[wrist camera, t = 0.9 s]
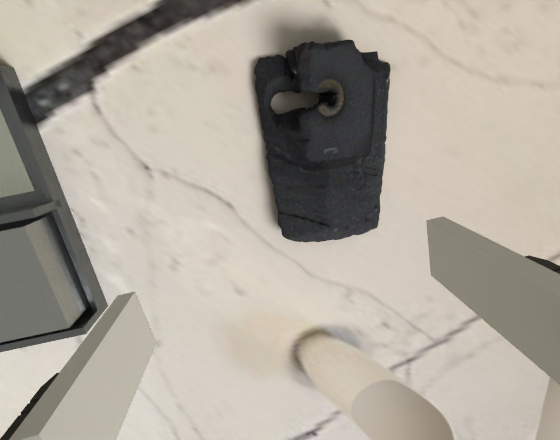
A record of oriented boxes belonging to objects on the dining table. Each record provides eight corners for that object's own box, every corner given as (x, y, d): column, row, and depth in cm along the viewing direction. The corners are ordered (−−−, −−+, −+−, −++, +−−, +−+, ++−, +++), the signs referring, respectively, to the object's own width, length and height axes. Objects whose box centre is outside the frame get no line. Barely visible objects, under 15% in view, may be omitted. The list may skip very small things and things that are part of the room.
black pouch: (263, 240, 40) (264, 255, 36) (253, 47, 34) (253, 35, 30) (380, 233, 42) (396, 246, 37) (391, 45, 35) (412, 33, 31)
